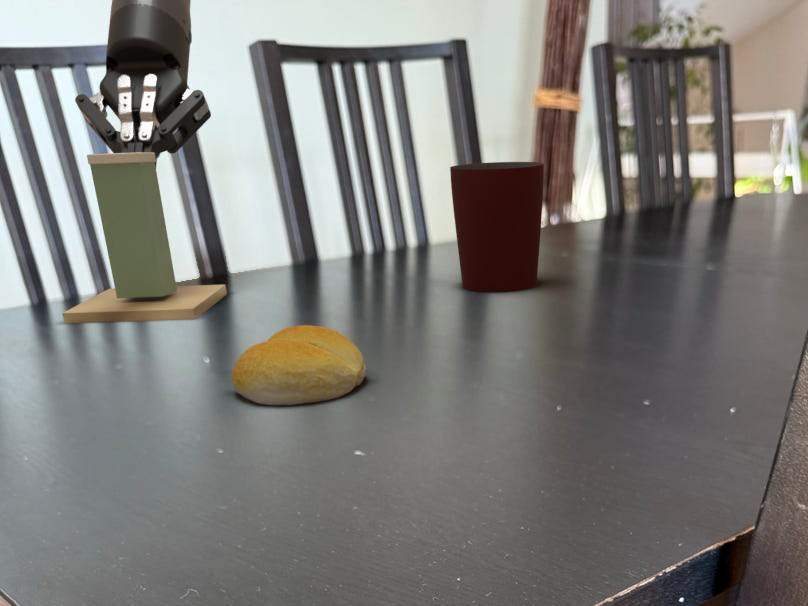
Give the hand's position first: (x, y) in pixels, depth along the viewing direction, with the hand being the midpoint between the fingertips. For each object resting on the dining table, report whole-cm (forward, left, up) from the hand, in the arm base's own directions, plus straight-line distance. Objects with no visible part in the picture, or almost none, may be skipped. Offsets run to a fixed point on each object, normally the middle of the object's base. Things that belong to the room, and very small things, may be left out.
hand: (137, 184), depth 88 cm
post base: (0, -3, -11) cm, 11 cm away
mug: (+34, +4, -11) cm, 36 cm away
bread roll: (+20, -33, -11) cm, 40 cm away
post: (0, -3, -9) cm, 10 cm away
